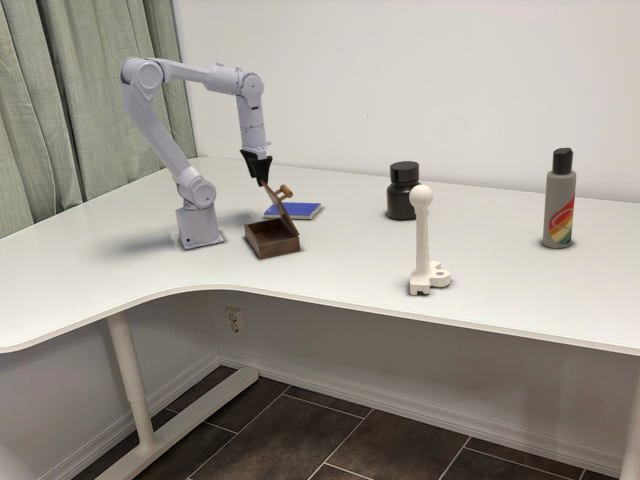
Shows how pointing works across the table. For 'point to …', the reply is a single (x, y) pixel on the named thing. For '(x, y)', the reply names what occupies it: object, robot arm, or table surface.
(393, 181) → the ink bottle
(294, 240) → the case
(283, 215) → the lid
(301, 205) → the hard drive
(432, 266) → the joystick
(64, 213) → the table surface
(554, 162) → the lotion bottle
